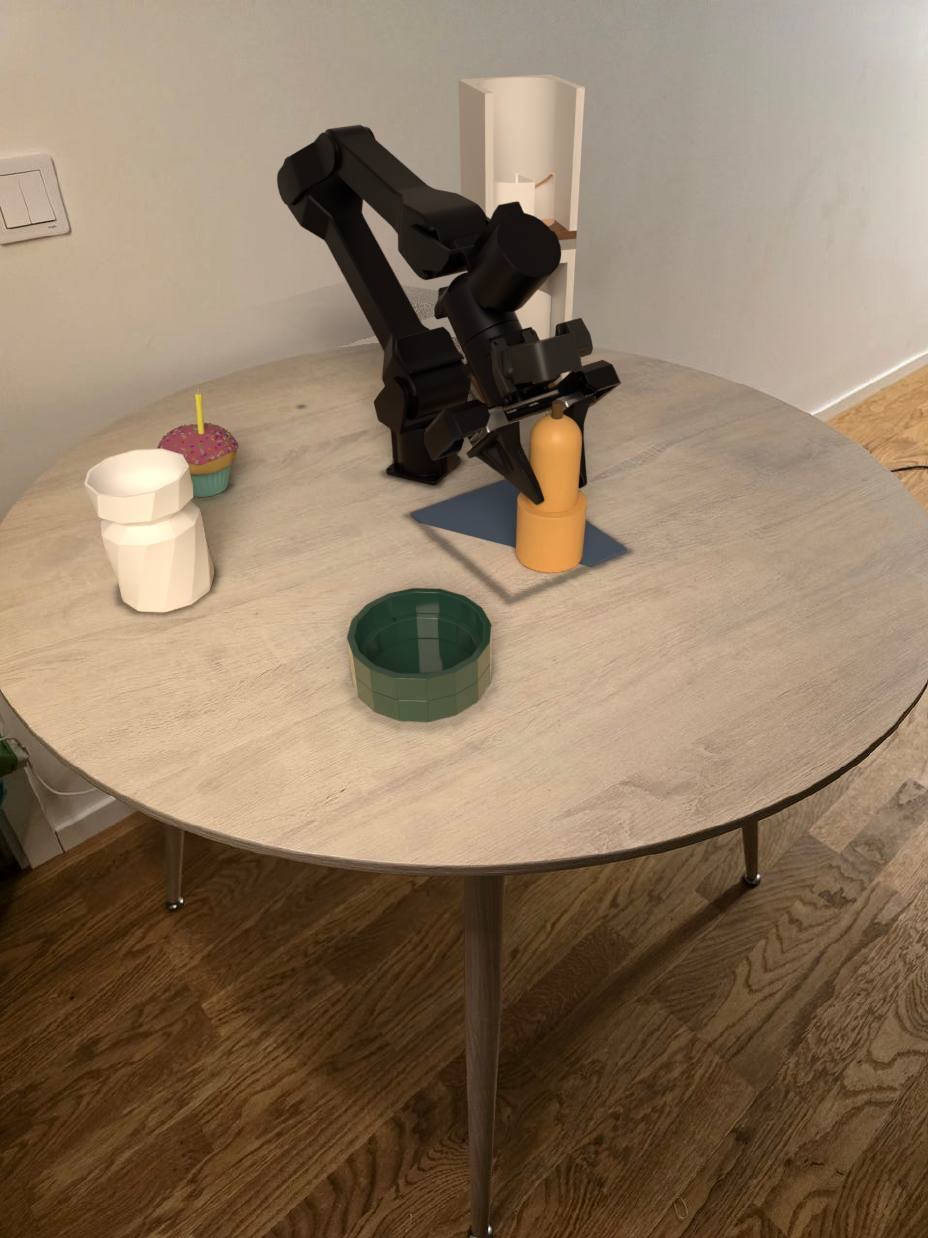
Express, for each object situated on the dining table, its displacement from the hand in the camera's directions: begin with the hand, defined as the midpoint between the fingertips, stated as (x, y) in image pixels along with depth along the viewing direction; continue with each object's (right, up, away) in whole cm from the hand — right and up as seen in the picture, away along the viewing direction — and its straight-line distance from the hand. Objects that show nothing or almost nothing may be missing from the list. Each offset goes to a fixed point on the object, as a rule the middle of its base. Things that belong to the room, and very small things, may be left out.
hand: (562, 494), depth 78 cm
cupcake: (-38, +3, +18) cm, 42 cm away
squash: (-1, -5, +5) cm, 7 cm away
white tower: (-2, +19, +36) cm, 41 cm away
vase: (-37, -8, +4) cm, 38 cm away
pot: (-12, -16, -7) cm, 21 cm away
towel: (-4, -2, +10) cm, 11 cm away
